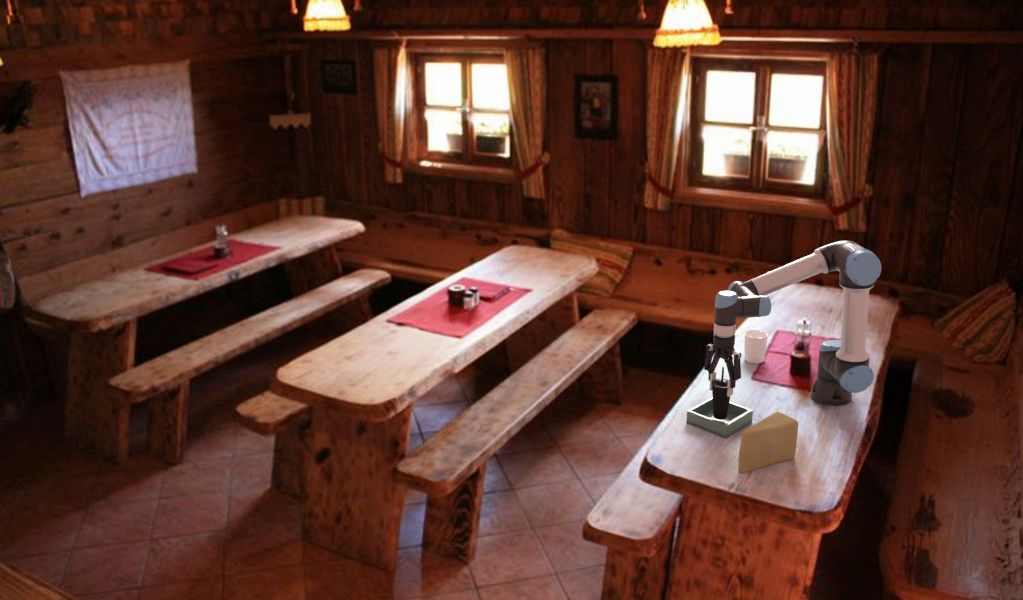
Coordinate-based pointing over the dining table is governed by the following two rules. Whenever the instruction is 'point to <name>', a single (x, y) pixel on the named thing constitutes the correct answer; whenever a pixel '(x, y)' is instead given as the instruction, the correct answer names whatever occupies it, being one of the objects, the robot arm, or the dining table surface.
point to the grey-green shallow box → (724, 428)
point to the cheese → (768, 442)
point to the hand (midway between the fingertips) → (721, 392)
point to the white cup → (755, 346)
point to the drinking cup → (720, 397)
